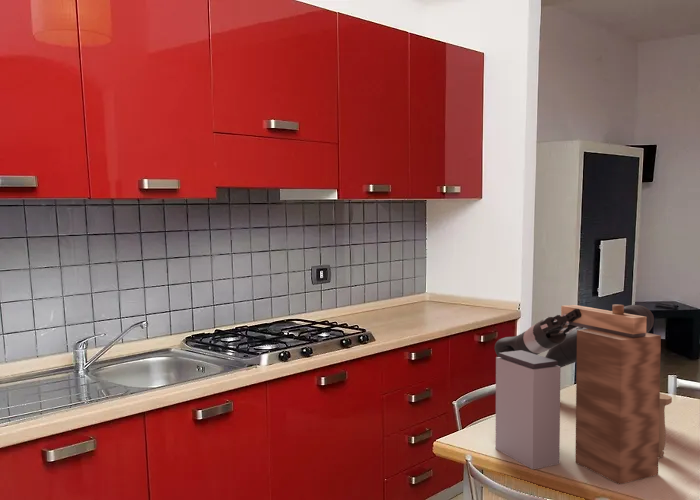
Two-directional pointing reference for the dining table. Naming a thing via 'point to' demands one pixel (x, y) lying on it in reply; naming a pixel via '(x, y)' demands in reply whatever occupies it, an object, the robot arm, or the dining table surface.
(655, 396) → the shelf block
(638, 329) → the stamp
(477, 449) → the dining table surface
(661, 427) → the handle
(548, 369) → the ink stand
